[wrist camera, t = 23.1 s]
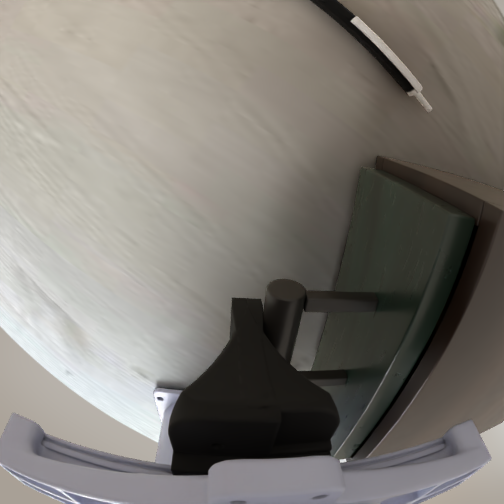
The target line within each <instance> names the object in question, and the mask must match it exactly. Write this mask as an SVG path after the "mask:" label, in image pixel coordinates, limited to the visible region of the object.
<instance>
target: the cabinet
mask: <svg viewBox="0 0 504 504" xmlns="http://www.w3.org/2000/svg"><path fill="white" fill-rule="evenodd" d="M375 169H379V170H383V171H385V172H387V173H389V174H392V175H394V176H396V177H398V178H400V179H402V180H404V181H406V182H408V183H411V184H413V185H415V186H417V187H419V188H421V189H423V190H424V191H426V192H428V193H430V194H432V195H434V196H436V197H438V198H440V199H442V200H443V201H445V202H447V203H449V204H451V205H452V206H454V207H456V208H458V209H459V210H461V211H463V212H465V213H466V214H468V215H470V216H471V217H473V218H474V219H475V224H474V225H476V226H478V229H477V232H476V235H475V238H474V242H473V245H472V248H471V251H470V254H469V256H468V259H467V262H466V265H465V268H464V270H463V273H462V275H461V278H460V281H459V283H458V286H457V288H456V290H455V293H454V295H453V297H452V300H451V302H450V304H449V307H448V309H447V311H446V313H445V315H444V317H443V320H442V322H441V324H440V326H439V328H438V330H437V332H436V334H435V336H434V338H433V340H432V341H431V343H430V345H429V347H428V349H427V351H426V353H425V354H424V356H423V358H422V360H421V362H420V363H419V365H418V367H417V368H416V370H415V372H414V373H413V375H412V377H411V378H410V380H409V382H408V383H407V385H406V386H405V388H404V390H403V391H402V393H401V394H400V396H399V397H398V399H397V400H396V402H395V403H394V405H393V406H392V408H391V409H390V410H389V412H388V413H387V415H386V416H385V417H384V419H383V420H382V422H381V423H380V424H379V426H378V427H377V428H376V430H375V431H374V432H373V434H372V435H371V432H370V433H369V434H368V436H367V437H366V438H365V440H364V441H363V442H362V443H361V445H360V446H359V447H358V448H357V450H356V451H355V452H354V453H353V455H352V456H351V457H350V458H346V460H347V462H349V461H355V460H360V459H365V458H370V457H375V456H379V455H384V454H388V453H392V452H396V451H399V450H403V449H407V448H410V447H414V446H417V445H420V444H423V443H426V442H430V441H433V440H435V439H438V438H441V437H443V436H444V434H445V433H446V432H447V431H448V430H449V429H450V428H452V427H453V426H455V425H457V424H460V423H462V422H465V421H467V420H470V419H472V420H473V422H474V424H475V426H476V428H477V430H478V432H479V434H480V433H482V432H484V431H486V430H488V429H490V428H492V427H494V426H496V425H498V424H500V423H502V422H503V421H504V191H503V190H500V189H497V188H494V187H491V186H488V185H486V184H483V183H480V182H477V181H474V180H470V179H467V178H464V177H461V176H457V175H454V174H451V173H447V172H444V171H440V170H437V169H433V168H429V167H425V166H421V165H417V164H413V163H409V162H405V161H401V160H396V159H392V158H387V157H383V156H377V161H376V167H375Z"/></svg>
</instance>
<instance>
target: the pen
mask: <svg viewBox="0 0 504 504" xmlns="http://www.w3.org/2000/svg"><path fill="white" fill-rule="evenodd" d="M311 1H312V2H313V3H315V4H316V5H317V6H318V7H320V8H321V9H322V10H323V11H325V12H326V13H327V14H328V15H330V16H331V17H332V18H333V19H334V20H336V21H337V22H338V23H339V24H340V25H341V26H342V27H344V28H345V29H346V30H347V31H348V32H349V33H350V34H351V35H352V36H354V37H355V38H356V39H357V40H358V41H359V42H360V43H361V44H362V45H363V46H364V47H365V48H366V49H367V50H368V51H369V52H370V53H371V54H372V55H373V56H374V57H375V58H376V59H377V60H378V61H379V62H380V63H381V64H382V65H383V66H384V68H385V69H386V70H387V71H388V72H389V73H390V74H391V75H392V76H393V78H394V79H395V80H396V81H397V82H398V83H399V84H400V86H401V87H402V88H403V89H404V90H405V92H406V93H407V94H408V95H409V96H413V95H414V96H415V97H416V98H417V100H418V101H419V102H420V103H421V105H422V106H423V107H424V109H425V110H426V111H427V112H430V111H431V110H432V107H431V106H430V104H429V103H428V102H427V100H426V99H425V98H424V96H423V95H422V94H421V92H420V91H421V90H422V89H423V87H422V85H421V84H420V83H419V81H418V80H417V79H416V78H415V76H414V75H413V74H412V73H411V72H410V70H409V69H408V68H407V67H406V66H405V64H404V63H403V62H402V61H401V60H400V59H399V58H398V57H397V55H396V54H395V53H394V52H393V51H392V50H391V49H390V48H389V47H388V46H387V45H386V44H385V43H384V42H383V40H382V39H381V38H380V37H379V36H378V35H377V34H376V33H375V32H374V31H373V30H371V29H370V28H369V27H368V26H367V25H366V24H365V23H364V22H363V21H362V20H361V19H360V18H359V17H358V16H355V15H354V14H353V13H351V12H350V11H349V10H348V9H347V8H346V7H344V6H343V5H342V4H341V3H340V2H338V1H337V0H311Z"/></svg>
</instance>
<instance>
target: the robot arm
mask: <svg viewBox="0 0 504 504" xmlns="http://www.w3.org/2000/svg"><path fill="white" fill-rule="evenodd" d="M153 395H154V398H155V402H156V406H157V409H158V413H159V417H160V420H161V423H162V426H161V432H160V437H159V443H158V449H157V454H156V460H155V463H154V462H148V461H142V460H137V459H132V458H127V457H123V456H118V455H113V454H109V453H105V452H102V451H98V450H94V449H91V448H87V447H84V446H81V445H77V444H74V443H71V442H68V441H65V440H62V439H59V438H56V437H53V436H51V435H48V434H46V433H45V432H44V430H43V429H42V428H41V427H40V425H39V424H37V423H36V422H34V421H32V420H30V419H28V418H26V417H23V416H21V415H19V414H16V413H12V415H11V417H10V419H9V421H8V423H7V425H6V427H5V429H4V432H3V434H2V436H1V438H0V465H1V466H2V467H3V468H4V469H5V470H7V471H8V472H9V473H10V474H11V475H13V476H14V477H15V478H17V479H18V480H19V481H20V482H22V483H23V484H25V485H27V486H29V487H30V488H32V489H35V490H37V491H38V492H41V493H43V494H45V495H47V496H49V497H51V498H54V499H56V500H58V501H60V502H62V503H65V504H419V503H421V502H424V501H426V500H428V499H430V498H432V497H435V496H437V495H439V494H441V493H443V492H445V491H448V490H450V489H452V488H453V487H456V486H458V485H459V484H461V483H462V482H464V481H465V480H466V479H468V478H469V477H470V476H472V475H473V474H474V473H476V472H477V471H478V470H479V469H481V468H482V467H483V466H484V465H486V464H487V463H488V462H489V461H490V460H491V456H490V454H489V452H488V450H487V448H486V446H485V444H484V442H483V440H482V438H481V436H480V434H479V432H478V430H477V428H476V426H475V424H474V422H473V420H472V419H470V420H467V421H465V422H462V423H460V424H457V425H455V426H453V427H452V428H450V429H449V430H448V431H447V432H446V433H445V434H444V436H443V437H441V438H438V439H435V440H433V441H430V442H426V443H423V444H420V445H417V446H414V447H410V448H407V449H403V450H399V451H396V452H392V453H388V454H384V455H379V456H375V457H370V458H365V459H360V460H355V461H349V462H343V463H340V460H339V459H336V458H334V457H331V453H330V451H331V450H332V444H331V440H330V439H331V438H332V436H333V435H334V433H335V431H336V430H337V428H338V426H339V424H340V417H339V413H338V410H337V407H336V405H335V403H334V401H333V399H332V397H331V395H330V393H329V392H327V391H325V390H324V389H322V388H321V387H319V386H317V385H316V384H314V383H312V382H311V381H310V380H308V379H307V378H306V377H304V376H303V375H302V374H300V373H299V372H298V371H297V370H296V369H295V368H294V367H293V366H291V365H290V364H289V363H288V362H287V361H286V360H285V359H284V358H283V357H282V355H281V354H280V353H279V352H278V351H277V350H276V348H275V347H274V346H273V345H272V343H271V342H270V341H269V339H268V338H267V336H266V335H265V333H264V332H263V304H262V301H261V299H248V298H247V299H246V298H232V307H231V326H230V340H229V342H228V343H227V345H226V347H225V348H224V349H223V351H222V352H221V354H220V355H219V356H218V357H217V359H216V360H215V361H214V362H213V364H212V365H211V366H210V367H209V368H208V369H207V370H206V371H205V372H204V373H203V374H202V375H201V376H200V377H199V378H198V379H197V380H196V381H194V382H193V383H192V384H191V385H189V386H188V387H187V388H186V389H184V390H174V389H166V388H155V389H154V392H153Z"/></svg>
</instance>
